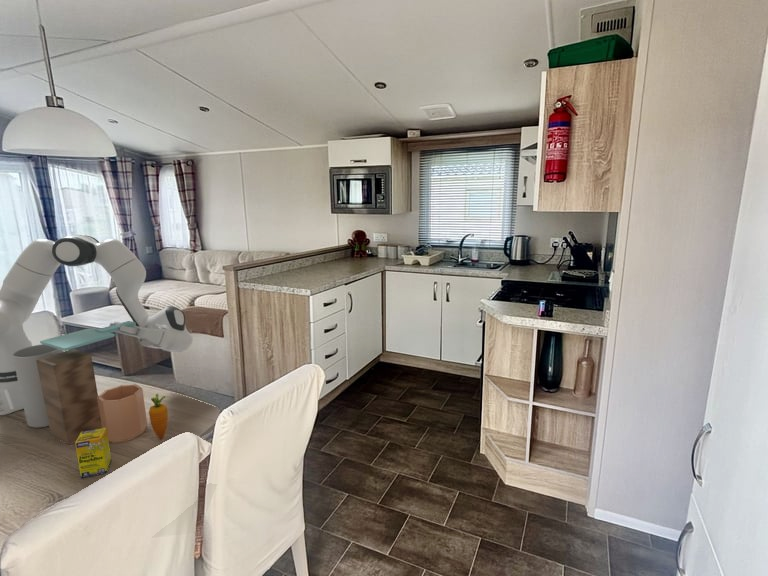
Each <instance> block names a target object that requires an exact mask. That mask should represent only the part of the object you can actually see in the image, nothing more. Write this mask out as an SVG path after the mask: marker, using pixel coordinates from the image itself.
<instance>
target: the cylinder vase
mask: <svg viewBox="0 0 768 576" xmlns="http://www.w3.org/2000/svg"><path fill="white" fill-rule="evenodd" d="M61 352H65V351H64V350H60V349H57V348H54V347H50V346H47V345H44V344H41V343H40V344H36V345H32V346H31V347H27V348H23V349H21V350H18V351H16V352H14V353H13V360H14V364H15V369H16V374H17V378H18V383H19V388H20V393H21V397H22V402H23V407H24V409H23V410H24V411H23V412H24V415H25V416H24V417H25V421H26V424H27V426H28V427H31V428H35V429H37V428H46V427H47V426H48V427H49V422H48V417H47V412H46V407H45V402H44V397H43V392H42V387H41V382H40V377H39V372H38V367H37V362H36V360H37V359H40V358H44V357H47V356H51V355H54V354H58V353H61Z"/></svg>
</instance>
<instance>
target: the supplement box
mask: <svg viewBox="0 0 768 576" xmlns="http://www.w3.org/2000/svg"><path fill="white" fill-rule="evenodd" d="M74 445H75V452H76V457H77V462H78V468H79V474H80V479H85V478H90V477H93V476H94V475H95V476H98V475H97V474H99V475H102V474H101V473H105V474H107V473H108V471H109V469H110V466H109V465H111V464H112V463H111V462H112V456H111V449H110V442H109V441H108V435H107V428H106V427H105V428H101V429H96V430H90V431H83V432H81V433H80V435H79V437H78V439H77V440H76V442H74ZM108 468H109V469H108ZM107 470H108V471H107Z"/></svg>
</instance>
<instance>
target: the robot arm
mask: <svg viewBox="0 0 768 576" xmlns="http://www.w3.org/2000/svg"><path fill="white" fill-rule="evenodd" d="M92 263H96V264H98V265H100V266H101V267H102V268H103V269H104V270H105V272H106V273H107V274H109V276H110V277H111V279H112V280H113V283H114V285H115V288H116V290H115V294H116V297H117V298H118V301H119V302H120V303H121V304H122V306H123V308H124V310H125V311H126V313H127V314H128V316H129V317H130V319H131V320H132V322H136V326H133V327H127V326H122V325H120V326H119V328H118V330H119V331H115V332H114V333H118V334H122V335H126V336H130V337H134V338H137V341H138V342H139V343H140V345H141V346H143V347H146V348H152V349H159V350H160V349H161V350H162V351H165V352H170V353H182V352H185V351H187V350H188V349H189V348H190V347H191V346H192V343H193V336H192V334H191V333H190V332H189V331H188V328H187V327H186V326H187V325H186V315H185V313H184V312H183V311H182V310H181V309H179V308H178V307H176V306H171V305H169V306H167V307H164V308H163V309H160V311H157V312H156V313H155V314H153V315H149V313H148V312H147V310H146V309H145V307H144V305H143V304H142V302H141V301H140V299H139V292H140V289H141V288H142V286H143V284H144V283H145V281H146V278H147V270H146V267H145V266H144V264H143V263H142V262H141V261H140V260H139V258H138V257H137V256H136V255H135V254H134V252H133V251H131V250H130V248H129V247H128V246H126V245H125V243H123V242H122V241H121V240H119V239H116V238H107V239H105V240H102V241H100V242H99V240H97V238H95V237H93V236H90V235H87V234H85V235H82V234H74V235H66V236H63V237H61V238H59V239H57V240H56V241H54V240H51V239H47V238H37V239H34V240H32V241H31V242H30V243H29V244H28V245H27V247H25V248H24V250H23V251H21V253H20V254H19V256H18V257H17V259H16V260H15V261H14V263H13V264H12V266H11V268H10V270H9V271H8V273H7V274H6V276H5V277H4V278H3V280H2V285H1V287H0V416H6V415H8V414H11V413H14V412H17V411H21V410H24V407H23V402H22V397H21V393H20V388H19V383H18V378H17V374H16V369H15V364H14V360H13V353H14V352H16V351H18V350H21V349H23V348H27V347H31V346H33V343H32V341H31V340H30V339H29V338H28V336H27V334H26V332H25V330H24V327H23V325H24V323H25V322H26V321H28V320H29V319H30V317H31V316H32V313H33V311H34V309H35V308H36V306H37V304H38V302H39V300H40V298H41V295H42V294H43V293H44V291H45V289H46V287H48V286H47V285H48V284H49V282H51V279H52V278H53V276H54V275H55V273H56V271H57V270H58V268H59V267H60V266H61V265H64V266H67V267H81V266H86V265H89V264H92ZM119 323H121V322H119V321H114V322H110V323H109V326H111V325H115V324H119Z"/></svg>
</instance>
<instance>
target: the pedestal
mask: <svg viewBox="0 0 768 576" xmlns="http://www.w3.org/2000/svg"><path fill="white" fill-rule="evenodd" d="M36 362H37V367H38V372H39V377H40V382H41V387H42V392H43V397H44V402H45V407H46V412H47V417H48V422H49V426H48V427H49V431H50V436H51V437H52V438H54V439H55V440H58V441H60V440H61V441H60V442H62V441H63V442H62V443H64V442H65V443H64V444H66V445H68V446H69V445H72V444H74V443H75V442H74V441H76V440H77V439H78V437H79V435H80V433H81V432H83V431H90V430H96V429H101V428H102V424H101V418H100V412H99V406H98V400H97V397H98V396H99V394H98V387H97V382H96V381H97V380H96V377H95V370H94V362H93V356H92V354H91V353H89V352H84V351H81V350H78V349H77V348H73V349H70V350H66V351H64V352H61V353H58V354H54V355H51V356H47V357H44V358H40V359H37V360H36ZM73 442H74V443H73ZM71 443H72V444H71Z"/></svg>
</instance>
